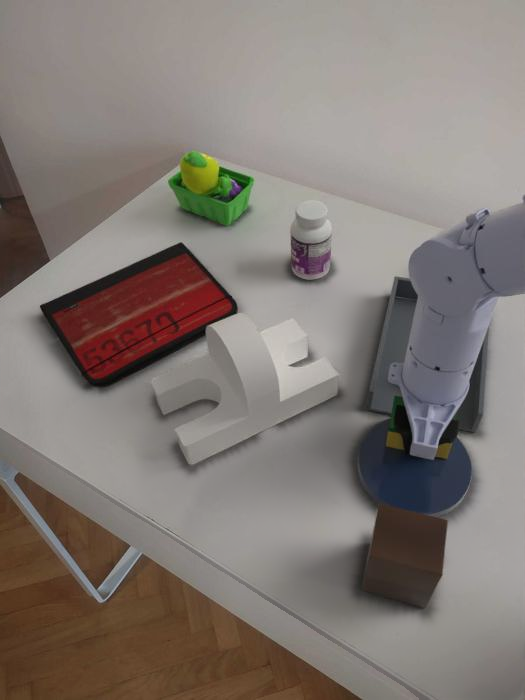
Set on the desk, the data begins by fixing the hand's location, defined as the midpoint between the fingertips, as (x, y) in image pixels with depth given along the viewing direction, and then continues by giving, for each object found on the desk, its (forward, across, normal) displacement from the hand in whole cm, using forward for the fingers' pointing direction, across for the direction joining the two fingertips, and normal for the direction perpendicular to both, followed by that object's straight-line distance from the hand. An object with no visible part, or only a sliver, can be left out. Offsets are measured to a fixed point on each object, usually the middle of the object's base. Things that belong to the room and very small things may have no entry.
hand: (418, 434), depth 58 cm
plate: (+2, +3, 0) cm, 3 cm away
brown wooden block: (+2, +14, 0) cm, 14 cm away
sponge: (0, 0, 0) cm, 0 cm away
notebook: (+2, -10, -36) cm, 37 cm away
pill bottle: (+2, -24, -17) cm, 30 cm away
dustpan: (+2, -15, 0) cm, 16 cm away
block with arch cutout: (+2, -1, -19) cm, 19 cm away
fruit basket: (+2, -34, -35) cm, 48 cm away
